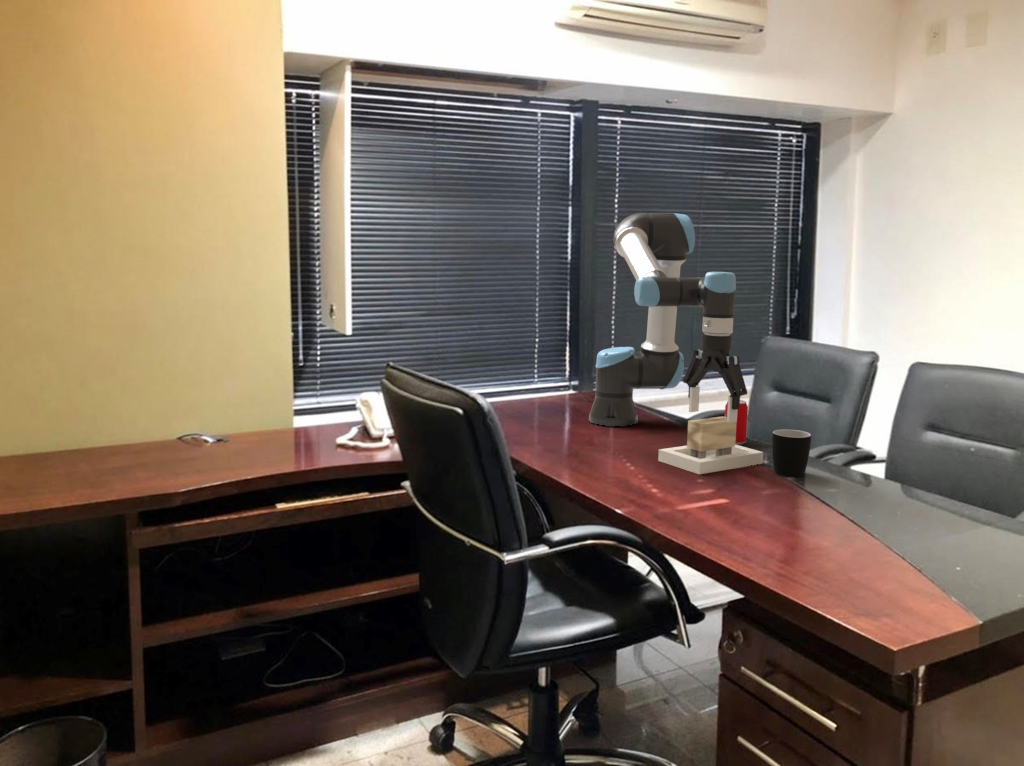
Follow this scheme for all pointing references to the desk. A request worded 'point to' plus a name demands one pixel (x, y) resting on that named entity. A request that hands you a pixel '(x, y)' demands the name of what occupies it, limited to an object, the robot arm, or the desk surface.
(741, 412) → the beverage can
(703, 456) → the peg frame
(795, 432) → the mug
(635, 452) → the desk surface
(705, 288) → the robot arm
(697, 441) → the wooden block
